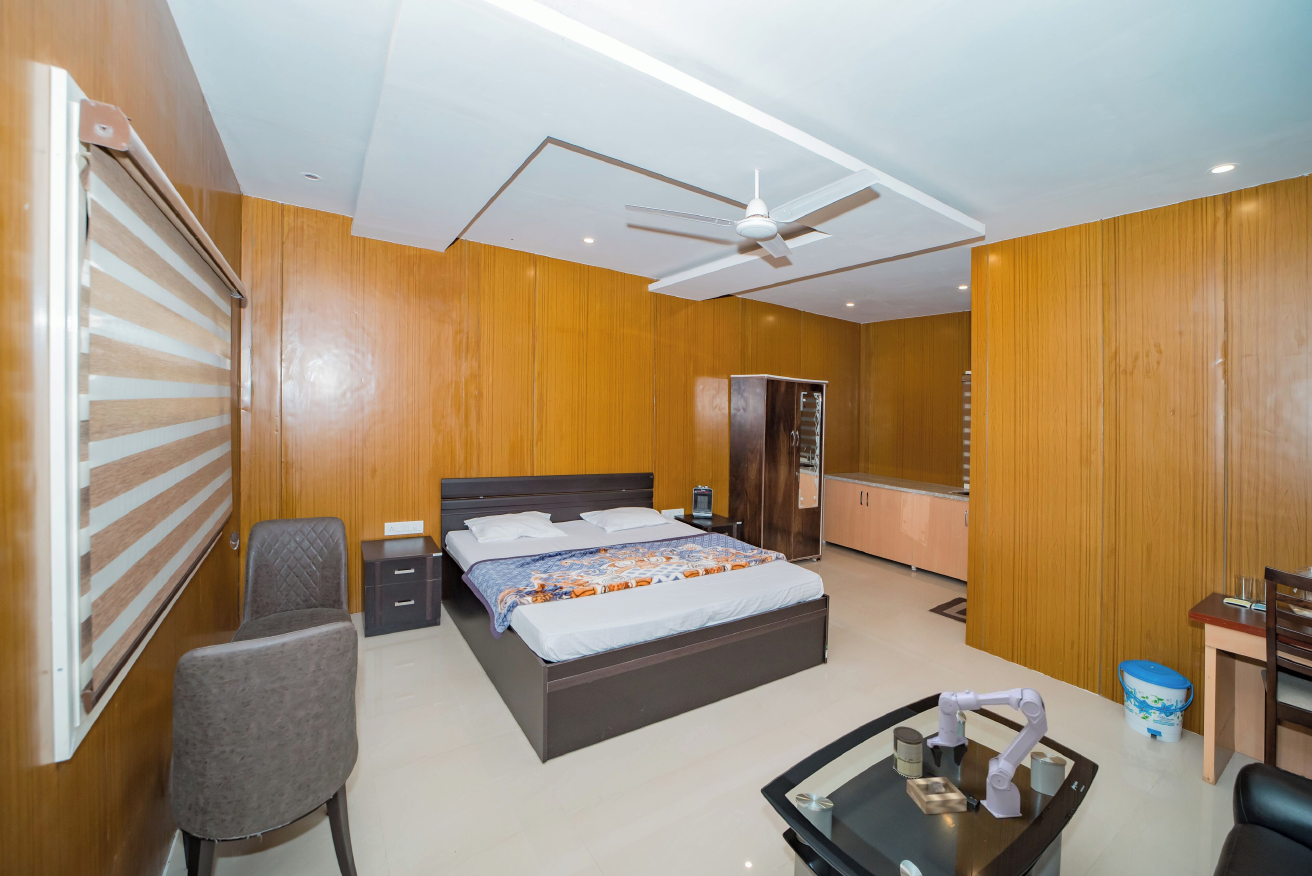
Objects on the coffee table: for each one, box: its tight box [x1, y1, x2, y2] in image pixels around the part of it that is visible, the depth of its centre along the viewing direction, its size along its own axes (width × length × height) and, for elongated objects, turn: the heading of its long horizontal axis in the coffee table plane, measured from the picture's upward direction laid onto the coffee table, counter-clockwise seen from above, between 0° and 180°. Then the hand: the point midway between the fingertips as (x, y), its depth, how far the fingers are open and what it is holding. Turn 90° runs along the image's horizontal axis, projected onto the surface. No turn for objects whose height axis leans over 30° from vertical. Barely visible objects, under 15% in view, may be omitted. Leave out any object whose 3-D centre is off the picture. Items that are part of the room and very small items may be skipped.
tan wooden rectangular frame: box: [906, 776, 968, 815], centre depth 185 cm, size 15×11×4 cm
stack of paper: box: [928, 781, 945, 795], centre depth 185 cm, size 3×4×7 cm
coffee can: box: [892, 726, 924, 779], centre depth 202 cm, size 10×10×14 cm
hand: (947, 764), depth 190 cm, fingers open, 7 cm apart
